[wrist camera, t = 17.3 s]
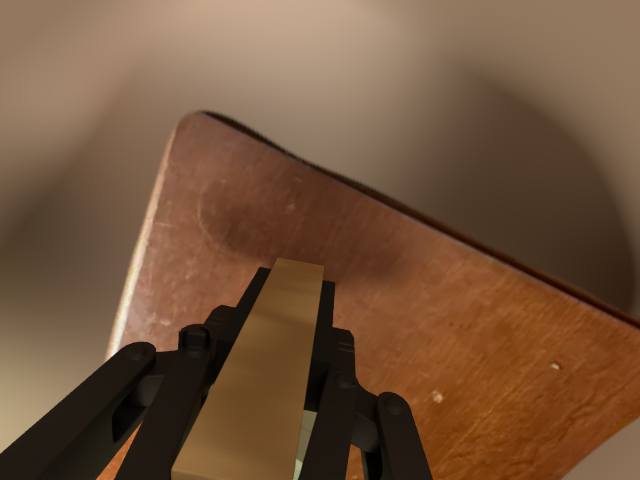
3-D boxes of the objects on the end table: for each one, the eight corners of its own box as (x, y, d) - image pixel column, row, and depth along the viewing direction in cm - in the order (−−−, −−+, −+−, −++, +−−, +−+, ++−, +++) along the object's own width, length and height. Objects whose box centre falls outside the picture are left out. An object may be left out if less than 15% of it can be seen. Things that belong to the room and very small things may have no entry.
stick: (272, 297, 21) (169, 540, 9) (277, 256, 20) (169, 470, 8) (316, 306, 21) (275, 563, 9) (324, 265, 20) (290, 494, 8)
